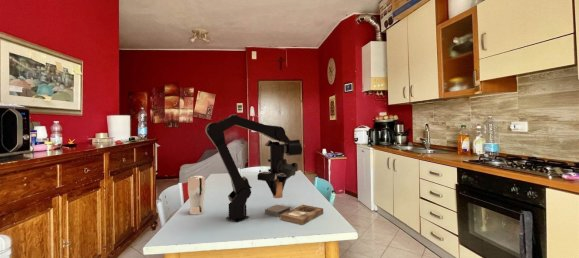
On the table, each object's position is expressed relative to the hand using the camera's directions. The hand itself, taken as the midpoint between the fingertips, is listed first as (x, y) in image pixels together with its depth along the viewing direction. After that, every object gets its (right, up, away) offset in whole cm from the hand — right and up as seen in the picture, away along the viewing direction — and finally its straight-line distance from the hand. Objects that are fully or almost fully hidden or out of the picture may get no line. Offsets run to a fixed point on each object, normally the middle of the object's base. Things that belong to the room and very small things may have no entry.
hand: (277, 194), depth 115 cm
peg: (0, -1, 0) cm, 1 cm away
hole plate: (+10, -8, -5) cm, 13 cm away
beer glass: (-34, -8, +2) cm, 35 cm away
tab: (0, -8, 0) cm, 8 cm away
